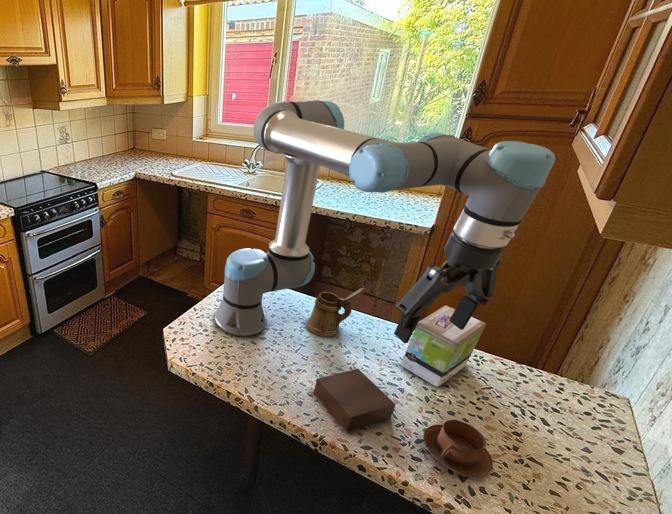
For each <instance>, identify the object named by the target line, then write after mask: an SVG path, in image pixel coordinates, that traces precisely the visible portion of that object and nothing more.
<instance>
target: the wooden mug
mask: <svg viewBox="0 0 672 514" xmlns="http://www.w3.org/2000/svg"><path fill="white" fill-rule="evenodd" d="M366 291H367V288H366V287H360V288H359V289H357V290H356V291H354V292H353V293H351V294H349V295H348V296H347V297H345V298H343V297H339V296H338V295H337V294H335V293H333V292H331V291H320V292H319V294H318V295H317V297H316V298H315V300H314V306H313V308H312V311H311V313H310V316H309V318H307V319H308V320H307V321H306V328H307V329H308V330H309V332H310V333H313V334H314V335H317V336H321V337H327V338H328V337H333V336H335V335H336V334H338V333H339V330H340V324H341V323H342V322H343V321H344V320H346V319H347V318H348V317H349V316H350V315H351V314H352V310H353V309H352V308H353V307H352V303H351V301H352V300H354V299H356V298H358V297H360V296H361V295H362V294H364V293H365V292H366ZM342 309H343V310H344V312H343V313H339V311H341V310H342Z"/></svg>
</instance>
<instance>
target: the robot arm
mask: <svg viewBox="0 0 672 514" xmlns="http://www.w3.org/2000/svg"><path fill="white" fill-rule="evenodd" d="M252 128H253V129H252V131H253V137H254V140H255V142H256V143H257V144H258V145H259V146H260V148H262V149H264V150H266V151H268V152H271V153H273V154H275V155H276V154H279V155H281V154H282V156H283V157H284V159H286V165H285V170H284V172H285V173H284V177H283V184H282V185H283V186H282V191H281V197H280V205H279V211H278V217H277V224H276V230H275V238H274V239H272V240H271V241H270V242H269V243H268V246H267V247H268V248H267V252H264V251H263V250H261V249H258V248H253V249H252V248H250V247H249V248H248V247H247V248H240V249H237V250H235V251H233V252H232V253H230V254H229V256H228V257H227V258H226V263H225V267H224V280H223V293H222V299H221V301H220V303H219V305H218V307H217V309H216V311H215V315H214V320H215V324H216V326H217V327H218V328H219V329H220V330H221V331H223V332H224V333H226V334H229V335H232V336H235V337H251V336H256V335H258V334H260V333H261V332H262V331H263V330H264V328H265V325H266V318H267V313H268V312H266V313H265V312H264V307H263V295H264V294H266V293H267V294H268V293H271V292H272V293H273V292H278V291H282V290H289V289H296V288H299V287H302V286H305V285H307V284H308V283H309V282H310V281H311V280H312V279H313V277H314V274H315V271H316V263H315V262H314V260H315V258H314V256H313V254H312V252H311V251H310V247H309V246H308V245H307V243H306V242H307V237H308V231H309V225H310V221H311V217H312V216H311V214H312V210H313V205H314V200H315V194H316V189H317V184H318V180H319V174H320V168H321V167H323V168H325V169H328V170H331V171H333V172H336V173H339V174H340V175H344V176H346V177H349V179H350V181H351V183H353V184H354V185H355V188H356V189H357V190H359V191H361V192H365V193H379V194H380V193H381V194H383V193H388V192H391V191H399V190H400V191H401V190H407V189H414V188H423V187H433V186H444V187H446V188H449V189H452V190H453V191H456V192H458V193H460V194H462V195H465V196H468V198H467V199H466V201H465V205H464V207H463V209H462V211H461V213H460V215H459V216H458V218H457V220H456V222H455V224H454V226H453V231H452V232H451V233H450V236H449V237H448V239H447V241H446V243H445V246H444V247H443V251H444V254H445V257H446V260H445V261H444V263H443V264H442V265H441V266H436V265H435V264H434V263H430V264H429V265H427V267H426V269H425V271H424V273H423V274H422V275H421V277H420V278H419V279H418V280H417V281H416V282H415V283H414V285H413V286H412V287H411V288H410V289H409V290H408V291H407V292H406V293H405V295H404V296H403V297H402V298H401V299H400V300H399V301H398V302H397V304H396V305H395V309H396V310H398V311H399V312H400V313H401V316H400V318H399V320H398V324H397V326H396V328H395V330H394V332H393V335H394V336H396V337H397V338H398V339H399V340H400V341H401V342H402V343H403V344H409V342H410V340H411V338H412V336H413V333H414V331H415V328H416V326H417V323H418V322H419V321H420V319H421V316H420V314H421V313H423V312H424V311H425V310H426V309H427V308H428V307H429V306H430V305H432V304H433V303H434V302H435V301H436V300H438V299H439V298H440V297H442V296H443V295H444V294H445V293H450V292H452V291H453V290H454V289H455V288H457V287H460V286H464V288H465V291H466V293H467V294H465V295H462V297H461V299H460V300H459V301H458V304H457V306H456V307H455V308H454V309H455V311H454V313H453V314H452V316H451V318H450V320H449V321H450V322H451V323H453V324H454V325H455V326H456V327H458V328H459V329H460V330H462V329H464V328H465V326H466V325H467V323H468V321H469V320H470V318H471V317H473V314H474V313H475V311H476V309H477V308H478V306H479V304H481V305H482V306H486V305H487V304H488V303H489V300H488V299H491V298H493V296H494V294H495V287H496V281H497V273H498V270H499V267H500V266H501V264H502V260H500V258H501V257H502V255H503V254H504V252H505V250H506V249H505V247H506V246H508V244H509V242H510V241H511V240H512V239H514V237H516V234H515V232H516V230H517V229H518V227H519V225H520V224H521V222H522V220H523V218H524V216H525V215H526V214H527V212H528V211H529V208H530V207H531V205H532V204H533V202H534V200H535V199H536V198H537V196H538V194H539V192H540V190H541V189H542V188H543V187H544V186H545V185H546V181H547V178H548V176H549V174H550V172H551V170H552V168H553V166H554V165H555V162H556V155H555V153H554V152H553V151H552V150H550V149H549V148H546V147H544V146H541V145H538V144H536V143H535V144H534V143H527V142H526V141H525V142H524V141H517V140H505V141H504V140H503V141H500V142H497V143H496V144H494V146H493V147H492V149H489V148H486V147H484V146H481V145H479V144H478V145H477V144H475V143H472V142H469V141H467V140H464V139H461V138H459V137H457V136H455V135H451V134H445V133H441V132H430V133H427V134H425V135H424V136H423V137H420V138H418V139H417V140H416V141H407V142H395V141H391V140H387V139H383V138H379V137H377V136H376V137H375V136H371V135H367V134H363V133H360V132H356V131H351V130H349V129H348V130H347V129H345V118H344V115H343V112H342V111H341V109H340V107H339V106H338V105H337V104H336V102H333V101H331V100H326V99H306V100H305V99H303V100H290V101H287V100H282V101H276V102H272V103H270V104H269V105H266V106H265V107H264V108H263V109H262V110H260V112H258V114H257V116H256V118H255V120H254V123H253V127H252Z"/></svg>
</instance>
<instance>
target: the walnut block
mask: <svg viewBox="0 0 672 514" xmlns="http://www.w3.org/2000/svg"><path fill="white" fill-rule="evenodd" d="M313 395H314V396H315V397H316V398H317V400H318V401H319V402H320V403H321V404H322V405H323V407H324V408H325V409H326V410H327V411H328V413H329V414H330V415H331V416H332V417H333V418H334V419H335V421H336V422H337V423H338V424H339V426H340V427H341V428H342V429H343V430H344V431H345V433H351V432H354V431H357V430H361V429H364V428H368V427H371V426H374V425H379V424H382V423H385V422H388V421H390V420H391V419H392V416H393V414H394V411H395V408H396V406H397V404H396V403H395V402H394V401H393V400H392V399H391V398H390V397H389V396H388V395H387V394H385V392H383V391H382V390H381V389H380V388H379V387H378V386H377V385H376V384H375V382H373V381H372V380H371V379H370V378H369V377H368V376H367V375H365V373H363V372H362V371H361V369H360V368H354V369H351V370H350V369H349V370H346V371H341V372H339V373H333V374H330V375H326V376H321V377H318V378H316V381H315V386H314V389H313Z"/></svg>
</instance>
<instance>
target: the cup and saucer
mask: <svg viewBox="0 0 672 514" xmlns="http://www.w3.org/2000/svg"><path fill="white" fill-rule="evenodd" d="M423 442H424V445H425V447H426V449H427V451H428V452H429V453H430V455H431V456H432V457H433V458H434V459H435V460H436V461H437V462H439V463H440V464H441V465H443V466H444V467H446V468H447V469H449V470H451V471H453V472H454V473H457V474H460V475H463V476H467V477H470V478H471V477H472V478H481V477H485V476H486V475H488V474H490V473H491V472H492V471H493V468H494V462H493V458H492V455H491V454H490V452H489V450H488V449H487V440H486V438H485V436H484V434H482V432H480V431H479V430H478V429H477V428H476V427H474V426H473V425H471V424H470V423H467V422H465V421H462V420H458V419H447V420H446V421H445V422H443V423H442V424H432V425H430V426H428V427H427V428H426V429H425V430H424V432H423Z"/></svg>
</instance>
